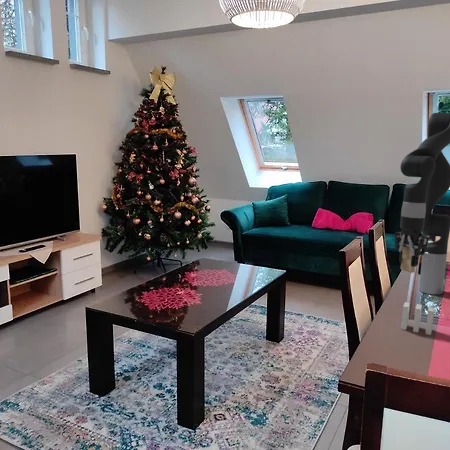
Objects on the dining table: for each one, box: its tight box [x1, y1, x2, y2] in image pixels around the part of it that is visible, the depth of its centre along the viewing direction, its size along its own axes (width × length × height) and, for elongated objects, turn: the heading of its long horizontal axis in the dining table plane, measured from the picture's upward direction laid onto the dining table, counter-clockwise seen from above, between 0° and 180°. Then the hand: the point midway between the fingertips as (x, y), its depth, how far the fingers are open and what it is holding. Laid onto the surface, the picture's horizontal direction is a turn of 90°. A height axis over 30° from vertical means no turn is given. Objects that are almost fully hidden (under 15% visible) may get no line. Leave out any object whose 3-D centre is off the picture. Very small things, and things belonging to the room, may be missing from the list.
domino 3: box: [412, 303, 423, 333], centre depth 150 cm, size 5×2×8 cm, turn 152°
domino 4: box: [425, 305, 435, 336], centre depth 149 cm, size 5×2×8 cm, turn 152°
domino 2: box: [400, 301, 411, 331], centre depth 152 cm, size 5×2×8 cm, turn 152°
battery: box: [417, 255, 422, 275], centre depth 220 cm, size 4×7×10 cm, turn 146°
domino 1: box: [400, 246, 417, 273], centre depth 155 cm, size 5×2×8 cm, turn 20°
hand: (408, 264), depth 155 cm, fingers closed on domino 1, 5 cm apart
